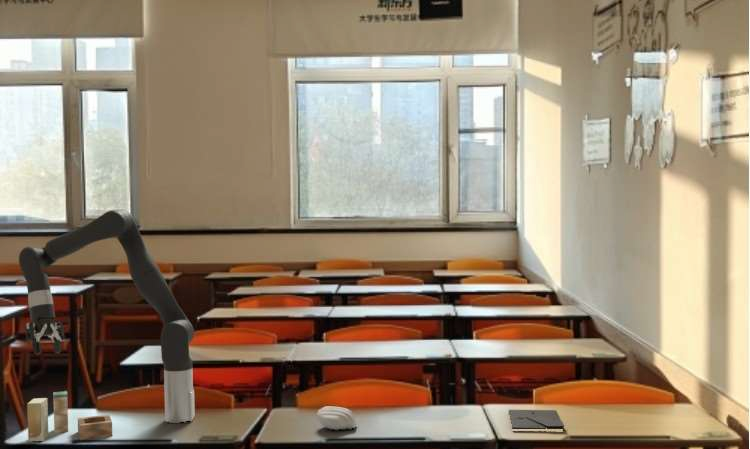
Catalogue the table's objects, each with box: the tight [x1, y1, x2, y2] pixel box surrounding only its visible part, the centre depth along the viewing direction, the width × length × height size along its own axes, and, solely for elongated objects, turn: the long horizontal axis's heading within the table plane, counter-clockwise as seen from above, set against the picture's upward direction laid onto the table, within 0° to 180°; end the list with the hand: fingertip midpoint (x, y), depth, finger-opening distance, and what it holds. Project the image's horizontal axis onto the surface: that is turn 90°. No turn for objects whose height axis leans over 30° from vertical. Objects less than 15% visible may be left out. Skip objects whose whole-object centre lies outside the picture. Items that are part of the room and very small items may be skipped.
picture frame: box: [508, 409, 565, 431], centre depth 257 cm, size 16×3×21 cm
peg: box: [52, 390, 69, 434], centre depth 256 cm, size 4×4×12 cm
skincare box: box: [26, 397, 50, 442], centre depth 246 cm, size 6×4×12 cm
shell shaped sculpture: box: [316, 405, 357, 431], centre depth 254 cm, size 13×13×6 cm
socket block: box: [77, 414, 113, 441], centre depth 252 cm, size 10×10×4 cm
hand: (48, 353), depth 263 cm, fingers open, 8 cm apart
